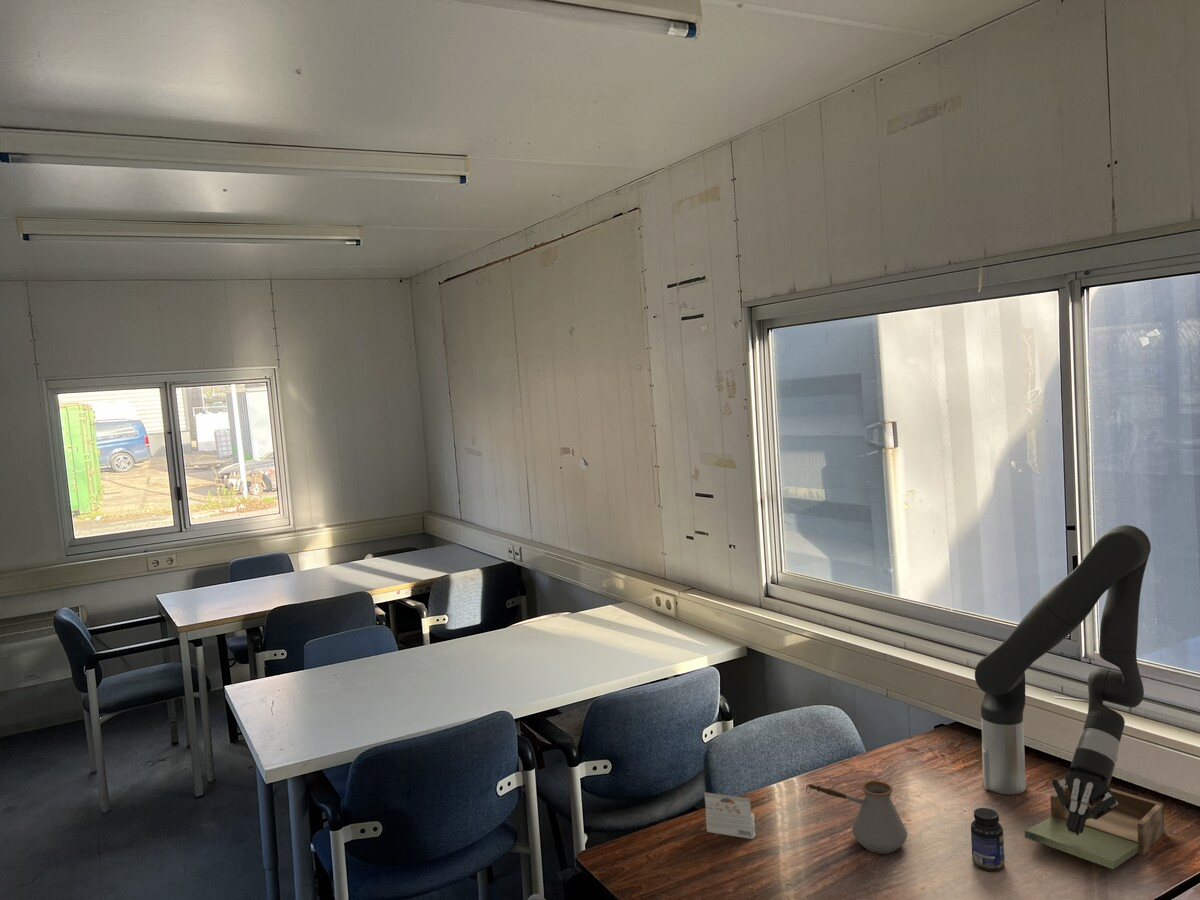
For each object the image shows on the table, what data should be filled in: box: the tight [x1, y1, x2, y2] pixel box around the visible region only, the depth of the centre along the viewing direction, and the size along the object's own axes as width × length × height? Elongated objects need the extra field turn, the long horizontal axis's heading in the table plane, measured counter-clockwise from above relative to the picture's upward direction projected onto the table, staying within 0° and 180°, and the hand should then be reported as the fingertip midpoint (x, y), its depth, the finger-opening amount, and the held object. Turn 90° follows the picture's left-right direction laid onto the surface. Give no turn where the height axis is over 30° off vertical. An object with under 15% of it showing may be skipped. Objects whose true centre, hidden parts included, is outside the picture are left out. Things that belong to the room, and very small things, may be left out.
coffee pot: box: [805, 780, 908, 854], centre depth 186 cm, size 21×12×15 cm, turn 92°
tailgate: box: [1024, 816, 1140, 870], centre depth 177 cm, size 2×17×14 cm
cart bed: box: [1050, 786, 1165, 856], centre depth 185 cm, size 12×18×6 cm, turn 39°
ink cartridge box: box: [703, 791, 756, 840], centre depth 195 cm, size 2×11×10 cm, turn 65°
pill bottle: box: [970, 807, 1006, 873], centre depth 175 cm, size 6×6×11 cm
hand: (1073, 832), depth 175 cm, fingers closed
